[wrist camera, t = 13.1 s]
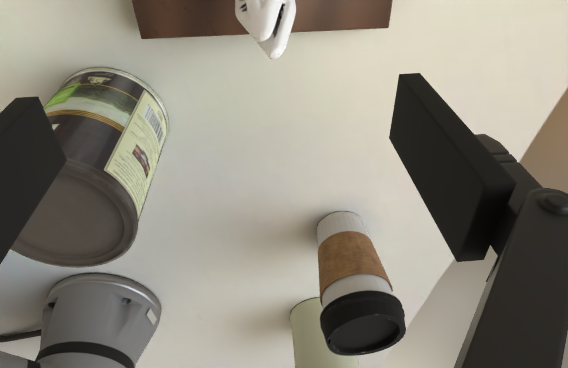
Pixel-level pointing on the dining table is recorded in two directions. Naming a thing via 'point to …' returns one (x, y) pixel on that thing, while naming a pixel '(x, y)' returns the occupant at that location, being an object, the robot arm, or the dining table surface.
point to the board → (222, 21)
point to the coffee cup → (355, 290)
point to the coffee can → (97, 169)
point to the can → (314, 339)
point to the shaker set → (267, 22)
